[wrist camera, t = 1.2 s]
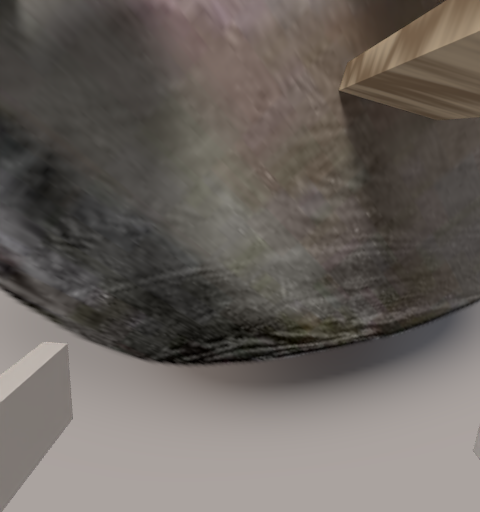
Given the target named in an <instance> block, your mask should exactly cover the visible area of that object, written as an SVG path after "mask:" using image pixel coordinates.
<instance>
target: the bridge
mask: <svg viewBox="0 0 480 512" xmlns="http://www.w3.org/2000/svg"><path fill="white" fill-rule="evenodd" d="M339 91H341V92H345V93H348V94H351V95H355V96H358V97H361V98H365V99H368V100H371V101H375V102H378V103H382V104H385V105H388V106H392V107H395V108H398V109H402V110H405V111H408V112H412V113H415V114H418V115H422V116H425V117H429V118H432V119H435V120H449V119H462V118H475V117H480V0H446V1H445V2H443V3H441V4H440V5H438V6H437V7H435V8H434V9H432V10H430V11H429V12H427V13H426V14H424V15H422V16H421V17H419V18H418V19H416V20H415V21H413V22H411V23H410V24H408V25H407V26H405V27H403V28H402V29H400V30H399V31H397V32H396V33H394V34H392V35H391V36H389V37H388V38H386V39H384V40H383V41H381V42H380V43H378V44H377V45H375V46H373V47H372V48H370V49H369V50H367V51H365V52H364V53H362V54H361V55H359V56H357V57H356V58H354V59H353V60H351V61H350V62H348V63H347V66H346V69H345V72H344V75H343V79H342V82H341V85H340V88H339Z"/></svg>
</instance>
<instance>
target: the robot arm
mask: <svg viewBox="0 0 480 512" xmlns="http://www.w3.org/2000/svg"><path fill="white" fill-rule="evenodd" d="M72 419H73V414H72V401H71V388H70V372H69V359H68V345H67V343H53V342H43V343H41V344H40V345H39V346H38V347H36V348H35V349H34V350H32V351H31V352H30V353H29V354H27V355H26V356H25V357H24V358H22V359H21V360H20V361H18V362H17V363H16V364H14V365H13V366H12V367H11V368H9V369H8V370H7V371H5V372H4V373H3V374H1V375H0V512H2V511H3V510H4V508H5V507H6V506H7V504H8V503H9V502H10V500H11V499H12V498H13V496H14V495H15V494H16V492H17V491H18V490H19V489H20V487H21V486H22V485H23V483H24V482H25V481H26V479H27V478H28V477H29V475H30V474H31V473H32V471H33V470H34V469H35V468H36V466H37V465H38V464H39V462H40V461H41V460H42V458H43V457H44V455H45V454H46V453H47V452H48V450H49V449H50V448H51V447H52V445H53V444H54V443H55V441H56V440H57V439H58V437H59V436H60V435H61V433H62V432H63V431H64V429H65V428H66V427H67V425H68V424H69V423H70V421H71V420H72ZM473 452H474V453H475V454H476V456H477V457H478V458H479V459H480V426H479V430H478V434H477V437H476V441H475V445H474V449H473Z"/></svg>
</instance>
